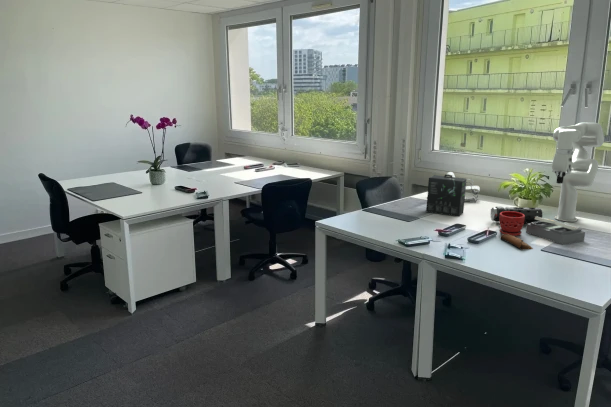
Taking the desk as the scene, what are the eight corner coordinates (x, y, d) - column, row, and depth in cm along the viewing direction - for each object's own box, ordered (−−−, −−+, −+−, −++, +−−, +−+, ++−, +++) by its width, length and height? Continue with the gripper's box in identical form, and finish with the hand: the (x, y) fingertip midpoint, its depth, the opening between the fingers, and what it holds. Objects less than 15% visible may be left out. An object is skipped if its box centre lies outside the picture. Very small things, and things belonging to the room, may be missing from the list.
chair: (445, 196, 355) (446, 171, 350) (479, 198, 345) (481, 173, 340) (443, 199, 343) (444, 174, 338) (478, 202, 333) (480, 176, 328)
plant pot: (494, 230, 265) (496, 210, 263) (516, 230, 265) (519, 210, 262) (502, 237, 253) (505, 216, 250) (526, 237, 252) (529, 216, 249)
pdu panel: (541, 227, 271) (542, 217, 269) (583, 241, 246) (585, 230, 244) (521, 230, 265) (522, 220, 264) (562, 244, 240) (564, 233, 239)
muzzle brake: (541, 225, 275) (543, 209, 272) (493, 224, 277) (495, 208, 275) (535, 221, 284) (537, 205, 281) (489, 220, 286) (490, 204, 284)
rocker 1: (548, 222, 263) (549, 219, 262) (556, 224, 258) (557, 221, 258) (534, 219, 258) (535, 216, 258) (541, 221, 253) (542, 218, 253)
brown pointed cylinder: (535, 248, 234) (530, 238, 232) (523, 256, 233) (518, 246, 232) (513, 238, 251) (509, 228, 249) (503, 245, 251) (498, 235, 249)
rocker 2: (568, 228, 251) (569, 225, 251) (576, 231, 246) (577, 228, 246) (554, 224, 246) (555, 221, 246) (562, 226, 241) (563, 223, 241)
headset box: (464, 213, 304) (467, 175, 298) (459, 217, 295) (462, 178, 288) (431, 208, 316) (433, 172, 310) (425, 212, 306) (427, 174, 300)
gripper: (580, 153, 255) (575, 185, 259) (557, 150, 268) (553, 180, 273) (570, 153, 252) (566, 186, 256) (547, 150, 266) (544, 181, 270)
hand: (559, 183), depth 264 cm, fingers closed
